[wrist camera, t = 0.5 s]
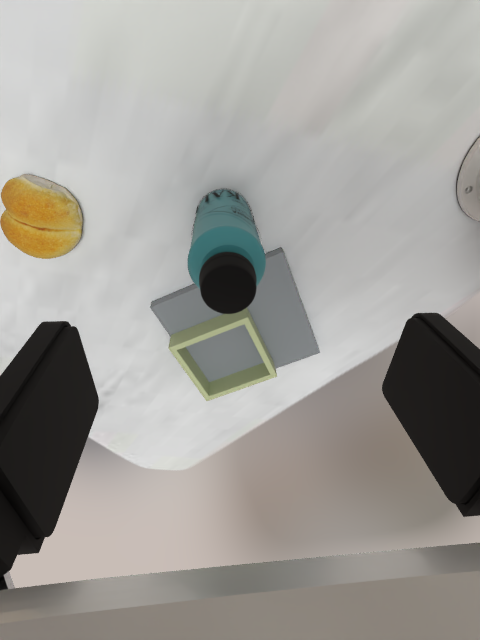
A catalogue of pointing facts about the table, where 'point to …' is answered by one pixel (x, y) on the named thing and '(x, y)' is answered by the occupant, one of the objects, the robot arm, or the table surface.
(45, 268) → the table surface
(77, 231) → the bread roll
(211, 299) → the beverage bottle
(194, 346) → the deck plate
